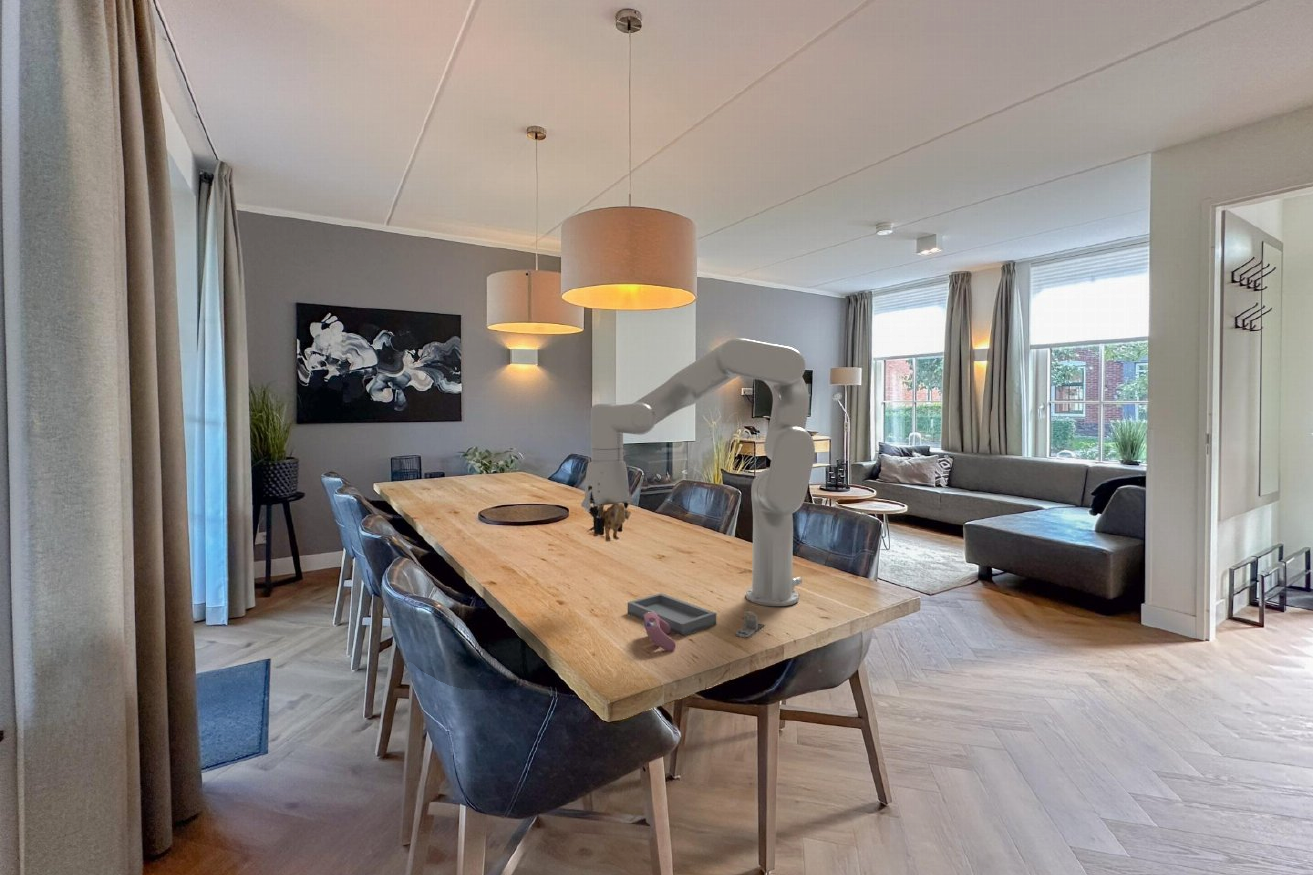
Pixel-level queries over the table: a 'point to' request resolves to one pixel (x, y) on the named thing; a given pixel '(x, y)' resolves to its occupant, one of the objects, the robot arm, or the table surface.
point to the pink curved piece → (658, 631)
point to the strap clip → (749, 626)
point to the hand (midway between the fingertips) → (608, 531)
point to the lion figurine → (613, 519)
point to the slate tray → (674, 613)
